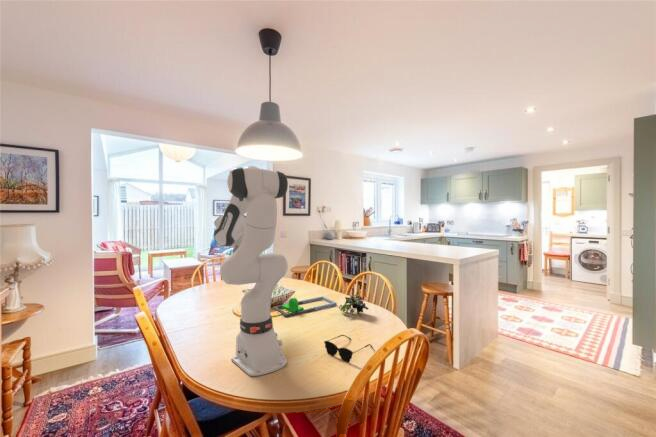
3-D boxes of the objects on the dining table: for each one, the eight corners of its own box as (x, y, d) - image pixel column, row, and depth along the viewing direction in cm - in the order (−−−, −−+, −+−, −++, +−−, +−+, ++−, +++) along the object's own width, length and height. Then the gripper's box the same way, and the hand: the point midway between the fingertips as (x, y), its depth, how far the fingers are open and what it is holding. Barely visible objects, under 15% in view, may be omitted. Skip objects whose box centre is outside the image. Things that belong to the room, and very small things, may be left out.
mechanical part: (303, 311, 154) (303, 297, 154) (295, 314, 150) (295, 299, 150) (290, 306, 163) (289, 292, 162) (281, 308, 158) (281, 295, 158)
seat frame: (314, 310, 155) (314, 308, 155) (285, 317, 145) (285, 315, 145) (301, 302, 168) (301, 300, 168) (273, 308, 158) (273, 306, 158)
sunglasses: (323, 353, 109) (324, 340, 109) (347, 341, 121) (348, 329, 121) (352, 365, 100) (352, 351, 100) (375, 351, 112) (375, 338, 112)
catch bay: (336, 305, 163) (336, 302, 163) (314, 310, 155) (314, 307, 155) (322, 298, 176) (322, 296, 176) (301, 303, 168) (301, 300, 168)
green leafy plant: (358, 323, 151) (373, 305, 149) (348, 327, 141) (364, 307, 139) (342, 306, 158) (356, 289, 155) (332, 309, 147) (346, 290, 145)
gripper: (235, 248, 131) (254, 270, 135) (250, 230, 150) (266, 249, 154) (226, 254, 133) (244, 275, 137) (242, 236, 152) (257, 254, 156)
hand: (256, 261), depth 146 cm, fingers open, 8 cm apart
